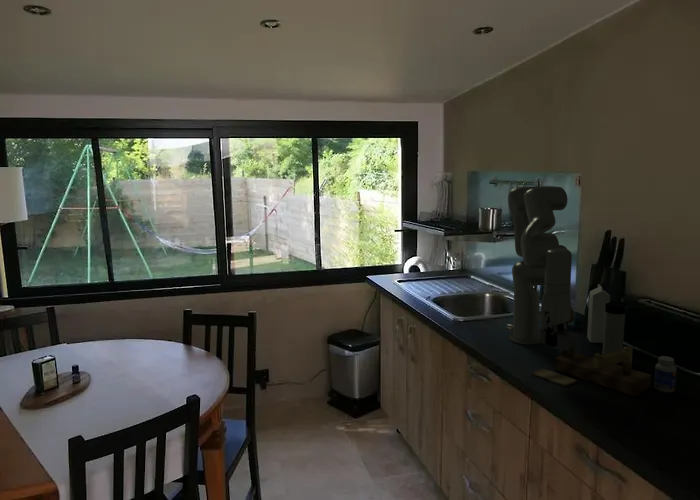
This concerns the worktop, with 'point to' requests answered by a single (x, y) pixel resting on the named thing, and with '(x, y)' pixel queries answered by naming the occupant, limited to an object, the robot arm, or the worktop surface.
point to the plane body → (602, 373)
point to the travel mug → (613, 326)
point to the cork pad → (554, 377)
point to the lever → (615, 359)
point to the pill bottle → (665, 374)
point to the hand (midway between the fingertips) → (555, 343)
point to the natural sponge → (571, 316)
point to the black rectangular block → (562, 339)
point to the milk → (597, 314)
